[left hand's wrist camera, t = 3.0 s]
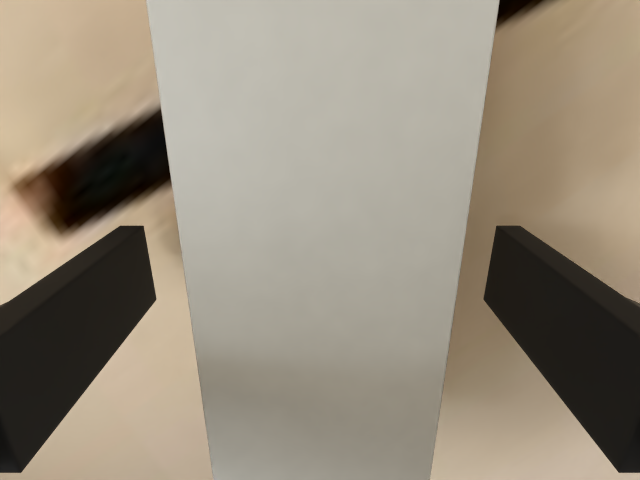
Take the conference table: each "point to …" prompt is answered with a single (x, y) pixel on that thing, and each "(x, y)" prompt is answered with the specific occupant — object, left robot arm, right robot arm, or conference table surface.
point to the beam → (322, 220)
